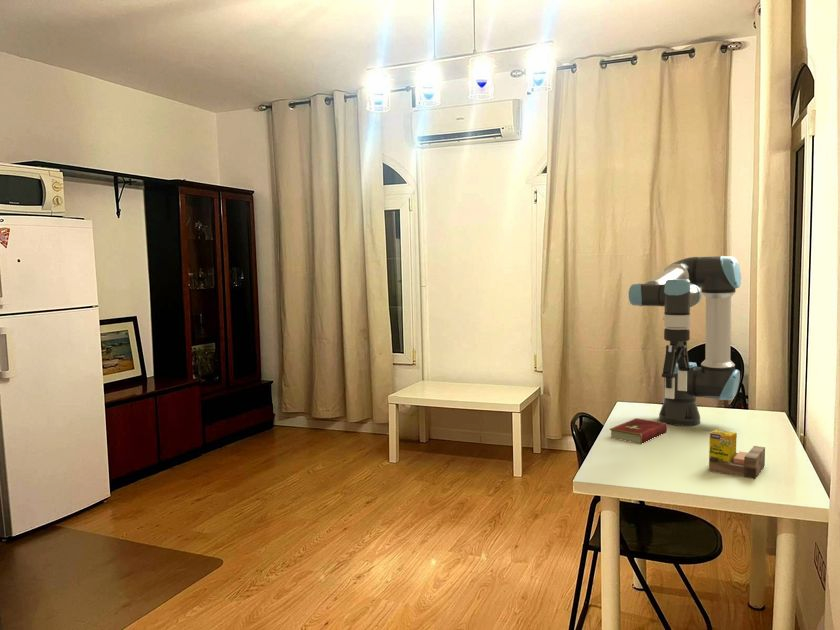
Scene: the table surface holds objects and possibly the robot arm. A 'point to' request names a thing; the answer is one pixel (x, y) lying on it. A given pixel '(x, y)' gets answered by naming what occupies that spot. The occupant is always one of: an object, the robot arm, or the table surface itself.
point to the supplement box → (723, 445)
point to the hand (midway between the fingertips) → (676, 394)
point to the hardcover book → (638, 430)
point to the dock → (749, 469)
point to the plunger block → (739, 458)
